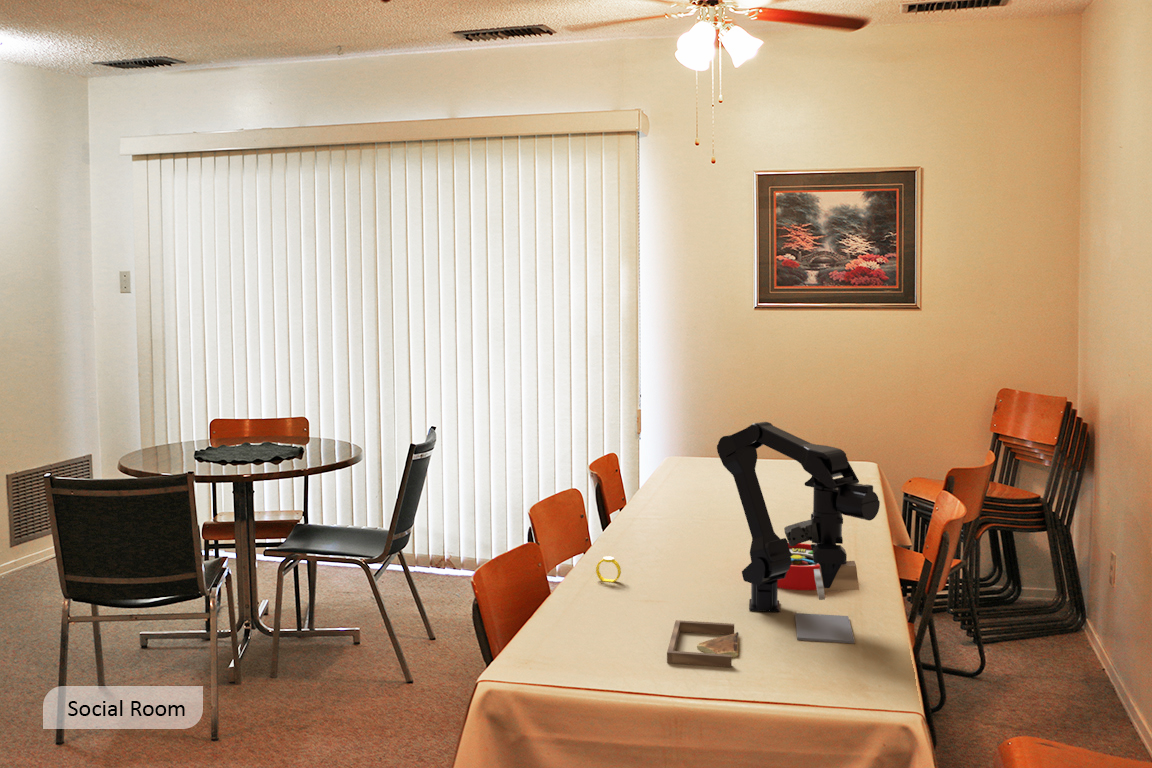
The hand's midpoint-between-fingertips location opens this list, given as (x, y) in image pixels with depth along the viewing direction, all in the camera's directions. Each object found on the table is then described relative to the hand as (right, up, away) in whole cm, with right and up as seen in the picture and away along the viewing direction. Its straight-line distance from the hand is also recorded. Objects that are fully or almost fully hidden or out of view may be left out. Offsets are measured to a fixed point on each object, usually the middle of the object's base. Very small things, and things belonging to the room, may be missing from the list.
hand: (826, 584), depth 185 cm
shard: (-23, -11, -8) cm, 27 cm away
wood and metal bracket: (+3, -1, -1) cm, 3 cm away
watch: (-44, -7, +33) cm, 55 cm away
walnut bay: (-27, -11, -8) cm, 30 cm away
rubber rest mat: (0, -9, +1) cm, 9 cm away
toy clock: (+2, -6, +35) cm, 35 cm away
